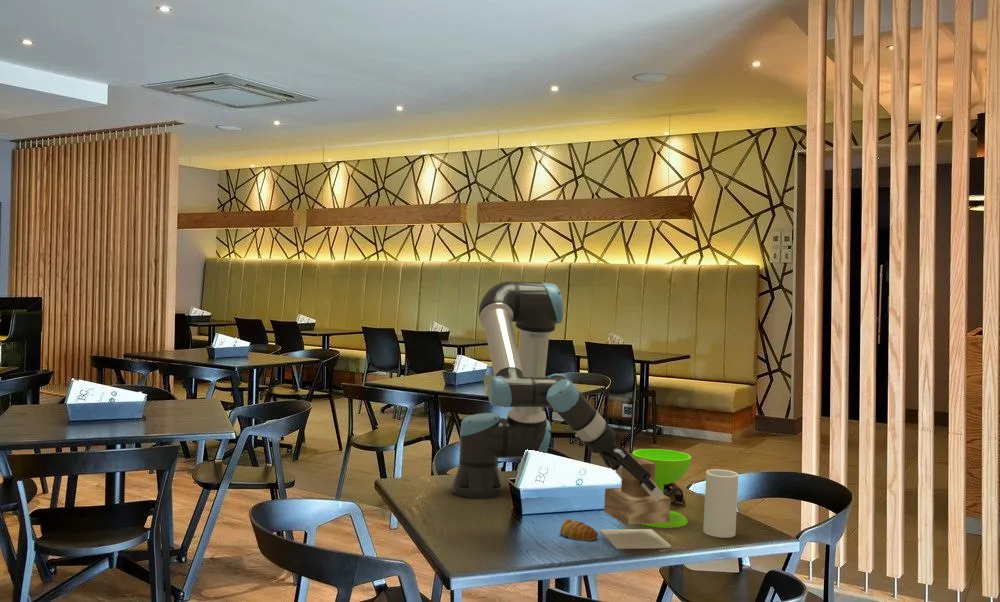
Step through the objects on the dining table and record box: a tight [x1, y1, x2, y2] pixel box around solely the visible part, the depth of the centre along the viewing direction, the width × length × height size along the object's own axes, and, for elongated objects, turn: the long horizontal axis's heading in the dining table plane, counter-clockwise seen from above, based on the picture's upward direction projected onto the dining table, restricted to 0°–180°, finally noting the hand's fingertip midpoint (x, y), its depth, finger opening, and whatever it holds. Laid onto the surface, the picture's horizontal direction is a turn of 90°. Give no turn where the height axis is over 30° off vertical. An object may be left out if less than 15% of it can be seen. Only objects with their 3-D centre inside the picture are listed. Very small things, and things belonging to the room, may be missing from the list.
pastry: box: [559, 519, 599, 542], centre depth 224 cm, size 9×7×4 cm
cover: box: [603, 459, 672, 526], centre depth 222 cm, size 12×12×14 cm
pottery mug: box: [656, 482, 687, 506], centre depth 260 cm, size 12×10×8 cm
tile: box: [599, 528, 672, 550], centre depth 223 cm, size 14×14×1 cm
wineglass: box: [632, 448, 692, 529], centre depth 243 cm, size 16×16×18 cm
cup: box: [702, 468, 739, 539], centre depth 232 cm, size 8×8×16 cm
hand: (646, 491), depth 223 cm, fingers closed on cover, 12 cm apart
